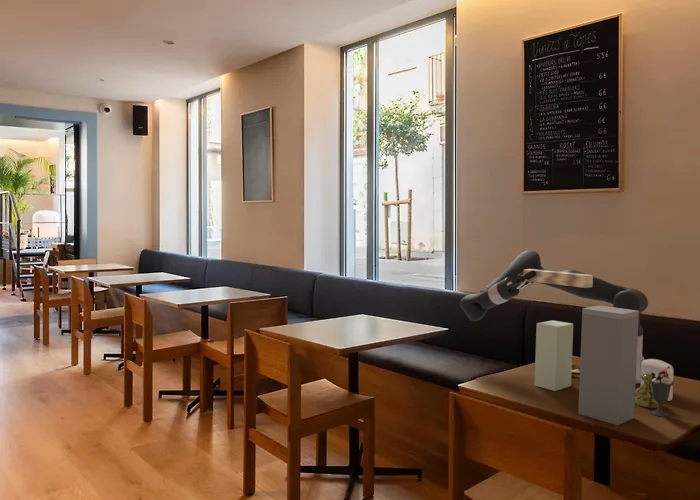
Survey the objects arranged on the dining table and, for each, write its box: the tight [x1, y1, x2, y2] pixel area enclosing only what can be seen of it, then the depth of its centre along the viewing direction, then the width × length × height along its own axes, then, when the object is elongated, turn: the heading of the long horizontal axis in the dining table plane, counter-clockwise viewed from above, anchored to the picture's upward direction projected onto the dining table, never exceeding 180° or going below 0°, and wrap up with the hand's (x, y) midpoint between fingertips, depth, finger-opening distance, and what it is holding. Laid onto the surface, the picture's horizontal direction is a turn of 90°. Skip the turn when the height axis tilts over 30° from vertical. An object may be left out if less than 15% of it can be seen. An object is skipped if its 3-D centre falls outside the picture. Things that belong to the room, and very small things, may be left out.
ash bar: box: [523, 269, 594, 288], centre depth 202 cm, size 24×4×4 cm, turn 39°
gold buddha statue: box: [635, 373, 658, 409], centre depth 185 cm, size 7×7×10 cm
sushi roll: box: [571, 363, 580, 379], centre depth 221 cm, size 15×15×4 cm
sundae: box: [649, 366, 675, 418], centre depth 176 cm, size 7×7×15 cm
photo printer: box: [640, 358, 674, 402], centre depth 193 cm, size 10×4×12 cm, turn 26°
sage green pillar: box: [534, 319, 574, 392], centre depth 204 cm, size 8×10×22 cm
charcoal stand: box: [577, 305, 639, 426], centre depth 173 cm, size 12×10×32 cm
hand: (538, 272), depth 207 cm, fingers closed on ash bar, 4 cm apart
